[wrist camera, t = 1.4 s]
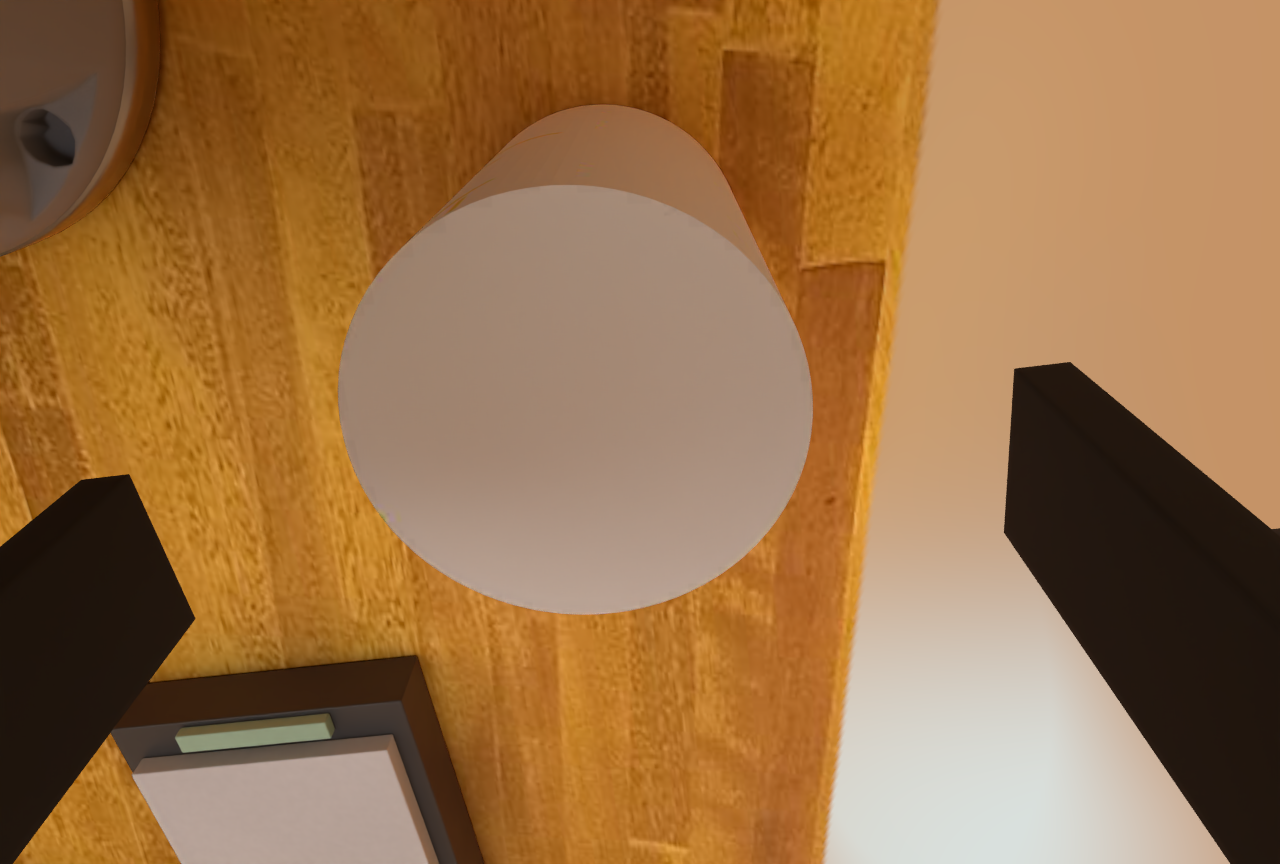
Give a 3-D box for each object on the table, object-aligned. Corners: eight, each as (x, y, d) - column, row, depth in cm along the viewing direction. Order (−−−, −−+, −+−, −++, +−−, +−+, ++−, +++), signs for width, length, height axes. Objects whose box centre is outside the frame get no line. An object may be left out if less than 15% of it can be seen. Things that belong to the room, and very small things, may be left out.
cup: (494, 70, 23) (364, 123, 12) (778, 146, 24) (885, 259, 13) (450, 341, 27) (318, 565, 16) (698, 400, 28) (732, 650, 17)
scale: (142, 683, 33) (95, 747, 30) (417, 654, 32) (395, 717, 30) (254, 897, 39) (223, 968, 36) (489, 877, 38) (476, 948, 35)
